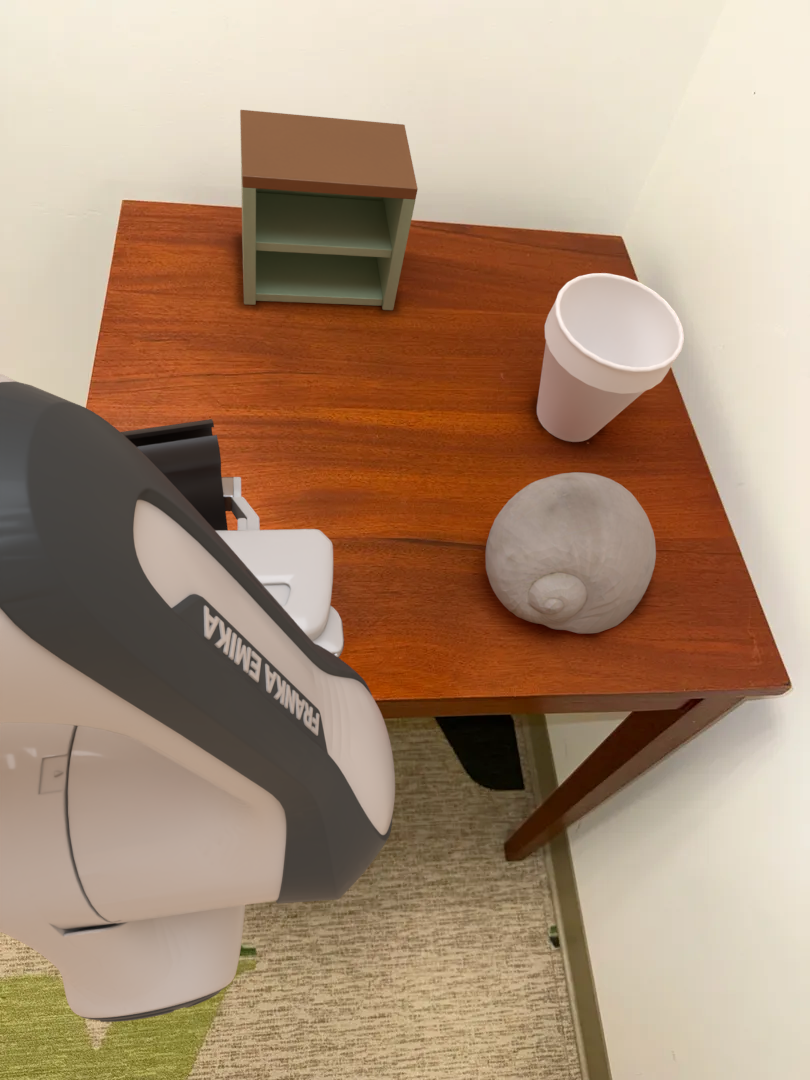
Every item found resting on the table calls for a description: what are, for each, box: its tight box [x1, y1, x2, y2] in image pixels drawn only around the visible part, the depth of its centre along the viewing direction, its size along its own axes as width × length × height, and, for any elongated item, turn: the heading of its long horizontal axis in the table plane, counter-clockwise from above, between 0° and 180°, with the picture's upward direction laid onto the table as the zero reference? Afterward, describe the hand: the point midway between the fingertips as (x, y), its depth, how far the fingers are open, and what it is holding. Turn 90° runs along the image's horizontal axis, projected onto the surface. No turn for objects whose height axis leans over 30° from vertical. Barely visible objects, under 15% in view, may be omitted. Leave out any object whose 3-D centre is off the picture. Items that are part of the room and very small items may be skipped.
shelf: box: [239, 109, 419, 311], centre depth 78 cm, size 16×10×15 cm, turn 97°
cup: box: [536, 272, 685, 443], centre depth 75 cm, size 12×12×14 cm
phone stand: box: [120, 418, 229, 531], centre depth 50 cm, size 9×6×12 cm, turn 18°
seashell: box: [485, 471, 657, 634], centre depth 68 cm, size 15×14×15 cm
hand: (171, 481), depth 50 cm, fingers closed on phone stand, 6 cm apart
